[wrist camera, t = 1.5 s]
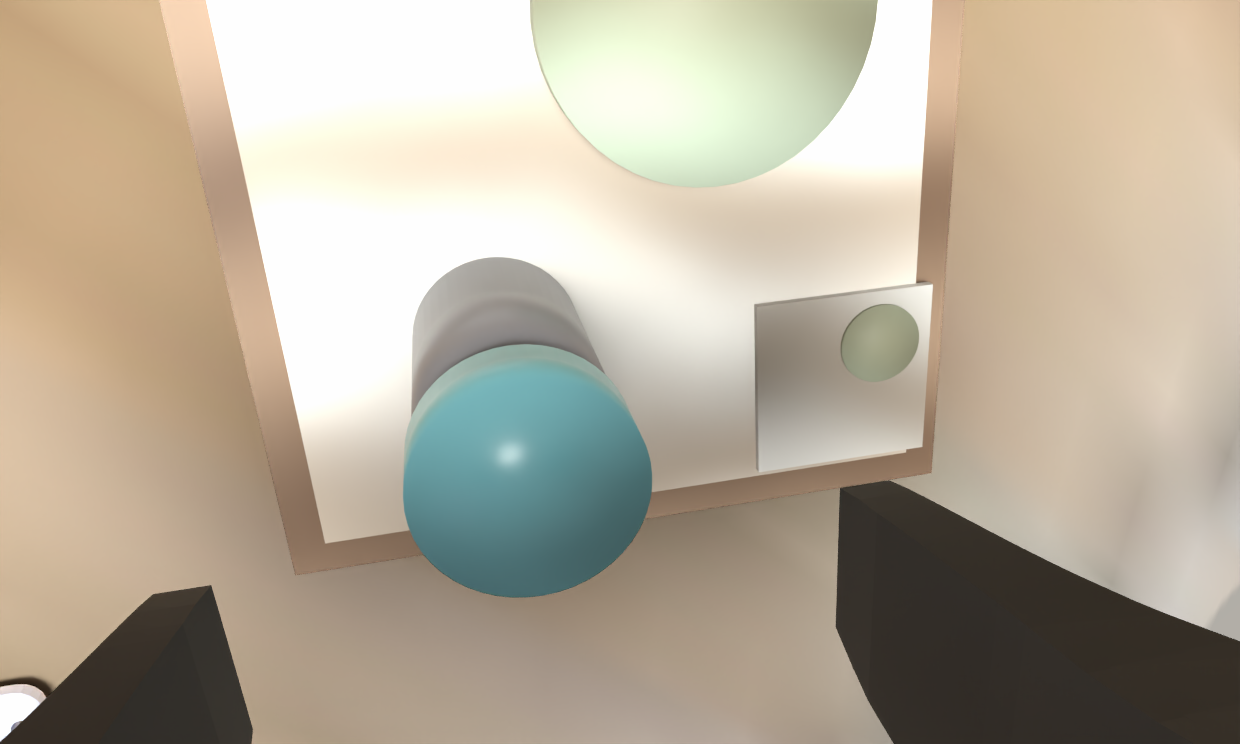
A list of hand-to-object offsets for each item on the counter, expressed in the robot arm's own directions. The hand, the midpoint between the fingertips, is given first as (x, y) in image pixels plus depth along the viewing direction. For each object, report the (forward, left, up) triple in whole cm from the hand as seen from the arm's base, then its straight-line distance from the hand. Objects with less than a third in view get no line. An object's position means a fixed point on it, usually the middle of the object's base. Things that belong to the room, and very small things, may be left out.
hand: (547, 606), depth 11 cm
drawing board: (+3, -3, -11) cm, 11 cm away
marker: (0, 0, -10) cm, 10 cm away
